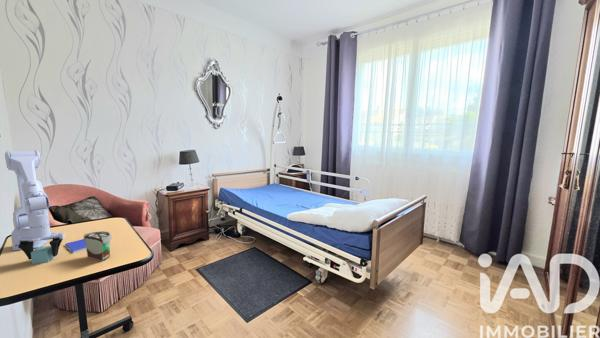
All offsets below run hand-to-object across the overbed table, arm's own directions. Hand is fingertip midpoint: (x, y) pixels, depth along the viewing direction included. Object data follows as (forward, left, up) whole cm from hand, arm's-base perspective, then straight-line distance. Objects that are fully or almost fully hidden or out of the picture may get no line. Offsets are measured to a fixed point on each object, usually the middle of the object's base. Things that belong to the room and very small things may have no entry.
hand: (43, 256), depth 103 cm
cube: (0, 0, -2) cm, 2 cm away
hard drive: (+8, +11, -2) cm, 14 cm away
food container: (+21, -3, -2) cm, 21 cm away
